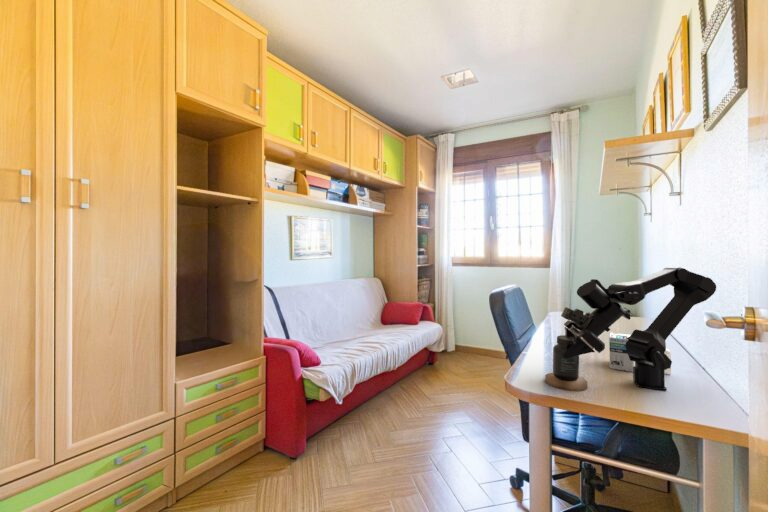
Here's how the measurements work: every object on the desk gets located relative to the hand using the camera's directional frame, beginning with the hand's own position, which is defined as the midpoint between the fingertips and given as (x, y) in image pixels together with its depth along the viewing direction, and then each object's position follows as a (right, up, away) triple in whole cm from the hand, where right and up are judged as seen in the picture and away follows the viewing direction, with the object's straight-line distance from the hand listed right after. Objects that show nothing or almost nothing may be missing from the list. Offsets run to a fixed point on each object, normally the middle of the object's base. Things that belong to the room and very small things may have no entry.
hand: (560, 353), depth 98 cm
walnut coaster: (+1, -9, -1) cm, 9 cm away
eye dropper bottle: (+38, -9, +10) cm, 40 cm away
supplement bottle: (+2, -7, 0) cm, 7 cm away
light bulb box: (+30, -10, +16) cm, 35 cm away
